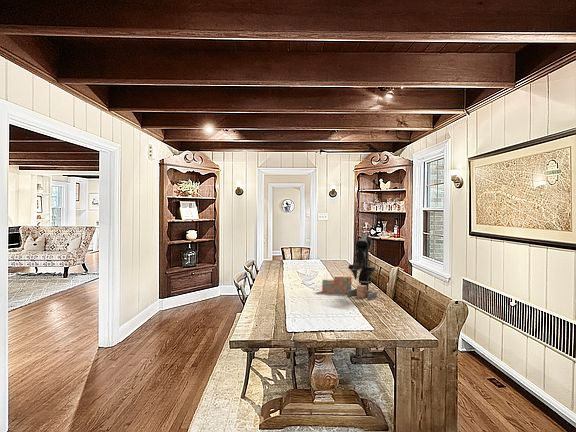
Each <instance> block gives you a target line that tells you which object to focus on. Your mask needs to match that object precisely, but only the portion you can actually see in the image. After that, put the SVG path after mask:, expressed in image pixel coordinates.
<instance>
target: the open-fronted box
mask: <svg viewBox="0 0 576 432" xmlns="http://www.w3.org/2000/svg"><path fill="white" fill-rule="evenodd" d="M377 295H378V292H377V291H372V290H369V291H367V297H366V298H367V300H368V301H371V300H374V299H377V297H378V296H377ZM352 296H357V288H354V289H351V290H349V291H348V293H347V297H352Z"/></svg>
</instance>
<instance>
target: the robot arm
mask: <svg viewBox="0 0 576 432" xmlns="http://www.w3.org/2000/svg"><path fill="white" fill-rule="evenodd" d="M372 243H373V240H372V238H371V237H370V236H369V234H364V233H363V234H361V237H360V238H359V239H358V240H357V241H356V243H355V244H356V245H355V251H357V252H356V254H355V257H356V262H354V263H353V264H352V263H351V264H348V266H347V267H348V268H347V269H348V270H349V271H351V272H352V274H353V278H354V279H355V280H357V278H358V284H360V285H364V286H367V291H370V290H369V286H370V284H372V276H371V275H372V273H373V272H375V271H376V267H375V266H369V251H370V249H371V247H372ZM359 270H361V271H360V272H359V275H358V271H359Z"/></svg>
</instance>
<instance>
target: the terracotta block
mask: <svg viewBox="0 0 576 432" xmlns="http://www.w3.org/2000/svg"><path fill="white" fill-rule="evenodd" d="M356 289H357V295H356V298H358V299H365V298H368V297H367V286H364V285H361V284H359V285H356Z"/></svg>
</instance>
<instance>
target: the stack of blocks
mask: <svg viewBox="0 0 576 432" xmlns="http://www.w3.org/2000/svg"><path fill="white" fill-rule="evenodd" d="M321 286H322V287H321V289H322V290H321V292H322V293H330V294H348V291H349V290H352V275H338V274H337V275H336V274H335V275H334V279H333V278H322V284H321Z"/></svg>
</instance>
